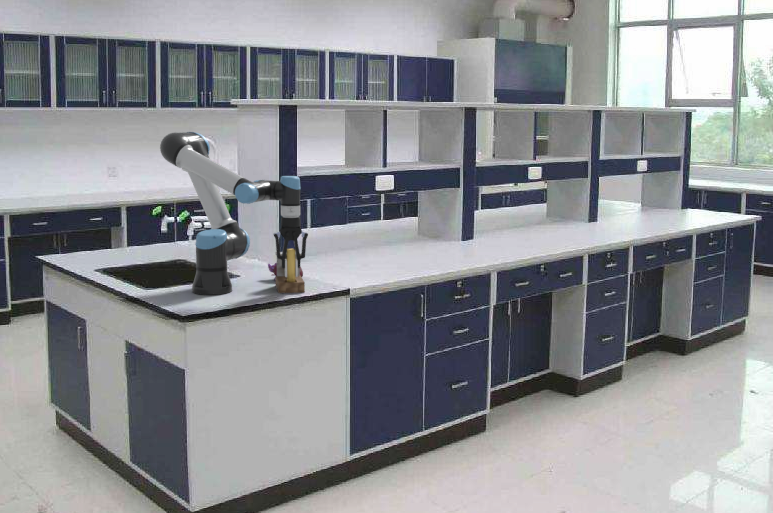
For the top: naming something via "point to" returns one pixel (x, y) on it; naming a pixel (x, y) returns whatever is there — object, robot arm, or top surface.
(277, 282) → the peg socket stand
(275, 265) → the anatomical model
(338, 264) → the top surface
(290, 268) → the peg
